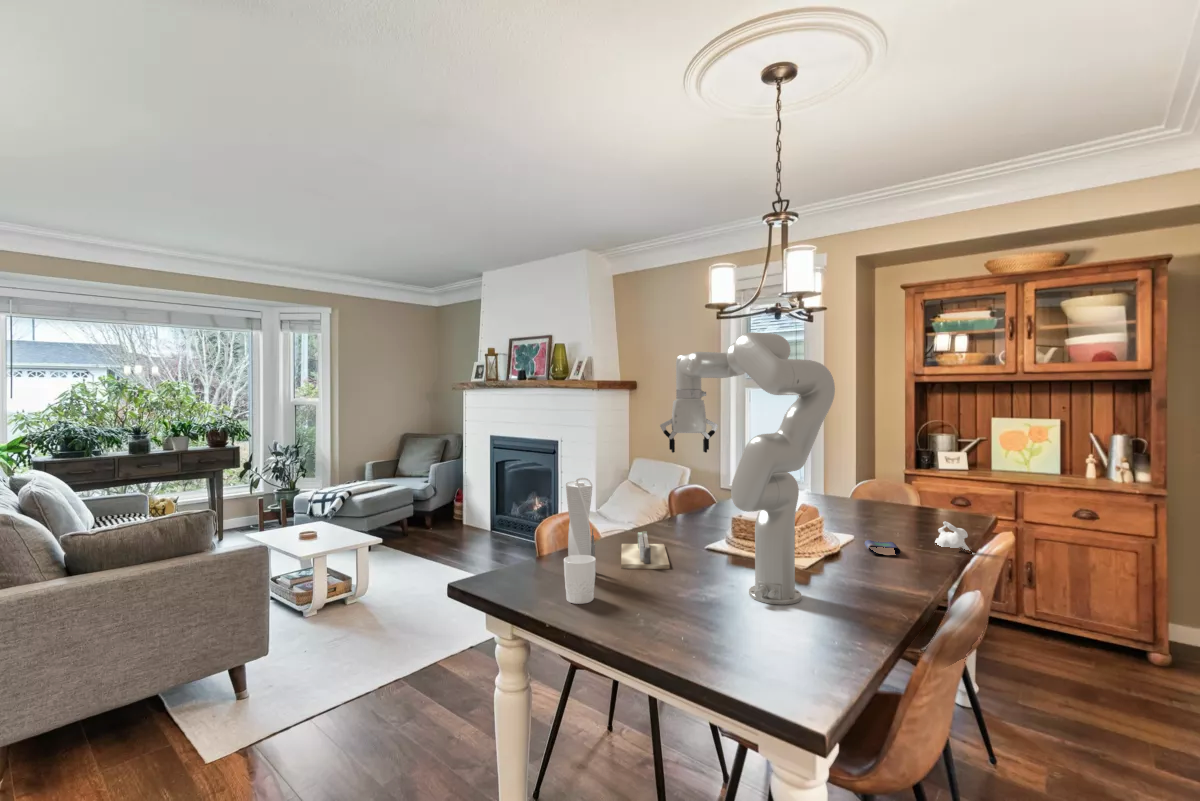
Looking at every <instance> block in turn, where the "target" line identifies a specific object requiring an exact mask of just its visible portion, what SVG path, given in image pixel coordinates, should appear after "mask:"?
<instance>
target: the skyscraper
mask: <svg viewBox="0 0 1200 801" xmlns="http://www.w3.org/2000/svg"><path fill="white" fill-rule="evenodd" d="M585 481H587V482H588V483H589V484H586V483H585ZM565 489H566V490H565V491H566V499H567V501H566V502H567V511H568V518H569V524H568V537H567V538H568V539H567V540H568V541H567V544H568V545H567V551H568V552H567V554H568V556H572V555H589V556H593V557H595V558H596V544H595V535H594V528H592V529H591V526H590V524H591V523H590V520H589V519H590V518H589V516H590V512H591V504H592V503H591V502H592V493H593V484H592V482H591V481H590V479H588V478H586V477H579V478H576V480H575V481H569V482H567V483H566V484H565ZM568 556H567V557H568ZM596 577H597V563H596V564H595V580H596V579H597V578H596Z"/></svg>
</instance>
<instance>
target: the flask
mask: <svg viewBox="0 0 1200 801" xmlns="http://www.w3.org/2000/svg"><path fill="white" fill-rule="evenodd" d="M864 545H865V547H866V549H867V550H868V551H869V552H870V553H871V554H875V555H877V554H876V552H874V551H873V550H871V549H870V548H869V547H876V548H877V547H883V548H884V547H885V548H894V550H895V554H896V555H897V556H900V555H901V552H902V550H901V549H900V548H899V546H897V544H896V543H894V542H893V541H880V540H878V541H874V540H870V539H866V540H865V541H864Z"/></svg>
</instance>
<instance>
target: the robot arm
mask: <svg viewBox="0 0 1200 801" xmlns="http://www.w3.org/2000/svg"><path fill="white" fill-rule="evenodd" d="M790 354H791V346H790V343H789V341H788V340H787V339H786V338H785V337H784V336H782V335H780V334H776V333H769V332H767V333H765V332H753V331H750V332H746V333H742V335H740V336H739V337H738V338H737V339H736V341H735V342H733V343H732V344H731V345H730V346H729V348H728V349H727V352H715V351H714V352H712V351H695V352H691V353H688V354H680V355H678V356H677V357H676V360H675V372H676V373H675V384H676V385H675V389H676V391H675V392H676V393H675V394H676V396H675V397H676V399H674V400H673V402H672V407H671V408H672V409H671V410H672V411H671V418H670V419H668V420H666V421H665V422H662V423H661V424H660V425H659V427H660V429H661V431H662V432H663V434H664V435H665V436H666V437H667V438H668V439H669V441H668V442H669V444H668V445H669V450H671V453H672V454H674V453H676V447H675V444H676V443H675V441H676V440H675V439H674V438H675V436H676V435H677V434H702V436H703V439H702V442H703V443H702V452H703V453H708V450H710V439H711V438H712V437H713V436H714V435H715V433H716V431H717V430H718V427H719V424H718V423H716V422H713V421H712V420H710V419H707V414H706V406H705V401H704V399H702V398H703V397H707V391H703V390H702V379H727V378H733V377H739V376H742V375H744V374H747V375H748V376H749V377H750V378H751V380H752V381H753V382H755V383H756V384H757V385H758V387H760V388H761V389H762V390H763V391H764V392H766V393H768V394H770V395H772V396H773V395H774V396H798V397H797V399H796V400H795V401H794V402H793V404H792V405H791V406H789V408H788V409H787V410H786V412H785V413H784V416H783V419H782V422H781V424H780V426H779V428H778V430H777V431H776V432H773V433H772V432H771V433H762V434H758V435H756V436H754V437H752V438H750V440H749V441H748V442H747V444H746V445H745V447H744V449H743V451H742V455H741V458H740V460H739V462H738V465H737V468H736V471H735V474H734V475H733V479H732V482H731V487H730V495H731V496H730V497H731V500H732V503H733V504H734V506H735V507H736V508H737V509H738V510H740V511H743V512H746V513H747V512H748V513H749V512H751V513H752V512H753V513H754V512H758V513H757V516H756V519H755V525H754V568H755V569H754V570H755V571H754V572H755V573H754V574H755V575H754V576H755V578H754V580H755V582H754V585H753V586H751V587H749V589H748V595H749V597H751V598H752V599H753V600H755V601H757V602H759V603H760V602H761V603H763V604H765V603H766V604H770V605H781V606H785V605H793V604H797V603H799V602H801V600H802V592H800V591H799V590H798V589H796V588H795V587H796V571H795V570H796V568H795V567H796V566H795V565H796V564H795V562H796V561H795V560H796V559H795V558H796V556H795V555H796V554H795V549H796V548H795V541H796V540H795V538H796V537H795V536H796V535H795V534H796V533H795V532H796V531H795V530H796V529H795V528H796V527H795V526H796V525H795V523H796V512H797V506H798V500H799V484H798V482H797V479H796V478H795V477H794V475H792V474H791V472H796V471H799V470H800V469H802V468H803V467H804V465H805V464H806V462H807V460H808V458H809V457H810V456H809V455H810V453H811V451H812V448H813V446H814V444H815V441H816V440H817V436H818V435H819V432H820V429H821V426H822V425H823V422H824V421H825V418H827V415H828V413H829V411H830V409H831V407H832V405H833V402H834V398H835V396H836V395H835V393H836V386H835V380H834V377H833V374H832V373H831V371H830V370H829V369H828V368H827V366H825V365H824V364H822V363H821V362H818V361H815V360H811V359H803V358H802V359H799V358H789V357H790ZM670 425H671V430H672V431H671V432H669V431H668V429H667V427H668V426H670ZM707 425H709V426H711V429H710V431H708V432H707Z"/></svg>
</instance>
